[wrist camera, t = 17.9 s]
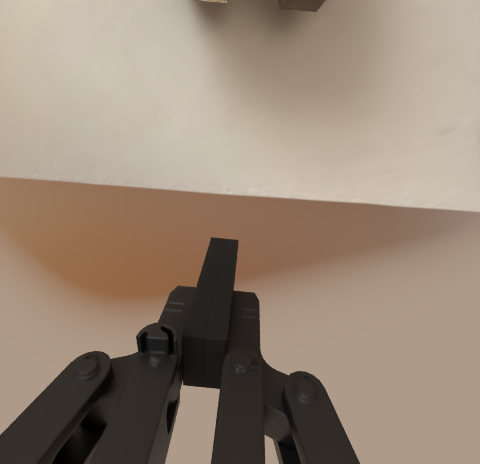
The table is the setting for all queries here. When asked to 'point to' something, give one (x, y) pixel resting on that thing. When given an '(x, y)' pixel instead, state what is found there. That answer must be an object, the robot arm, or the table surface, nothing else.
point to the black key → (301, 4)
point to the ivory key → (221, 0)
